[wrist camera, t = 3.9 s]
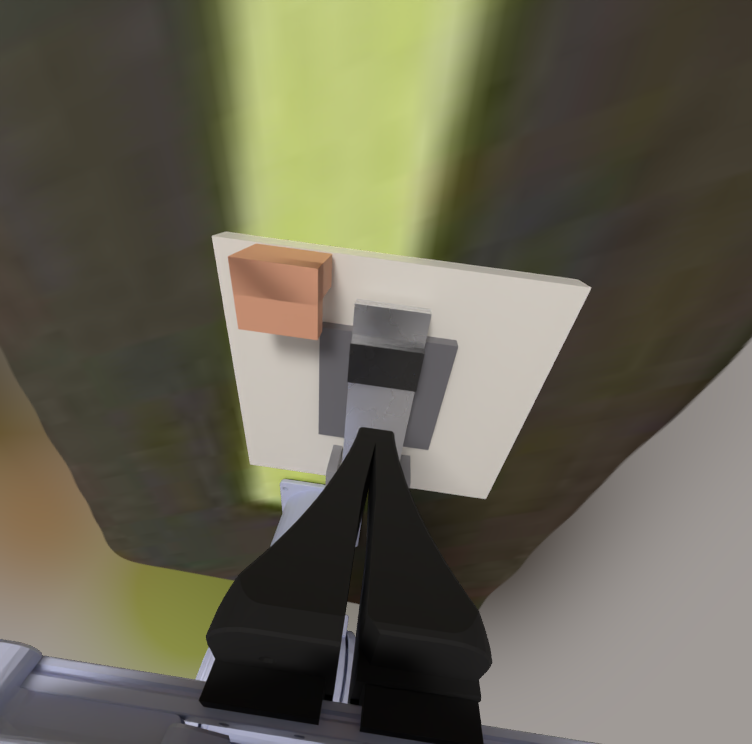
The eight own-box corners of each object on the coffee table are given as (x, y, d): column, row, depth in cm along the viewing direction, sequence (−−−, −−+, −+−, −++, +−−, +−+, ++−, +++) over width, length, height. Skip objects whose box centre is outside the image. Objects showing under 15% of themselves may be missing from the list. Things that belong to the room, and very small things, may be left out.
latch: (330, 316, 18) (317, 340, 15) (262, 307, 18) (238, 329, 15) (332, 253, 16) (317, 268, 13) (256, 243, 16) (227, 256, 13)
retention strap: (394, 475, 24) (393, 494, 23) (343, 467, 24) (339, 485, 23) (430, 307, 17) (432, 318, 15) (357, 296, 17) (352, 307, 15)
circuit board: (482, 483, 27) (492, 528, 24) (257, 450, 27) (235, 490, 24) (578, 279, 17) (620, 305, 14) (225, 231, 18) (181, 245, 14)
